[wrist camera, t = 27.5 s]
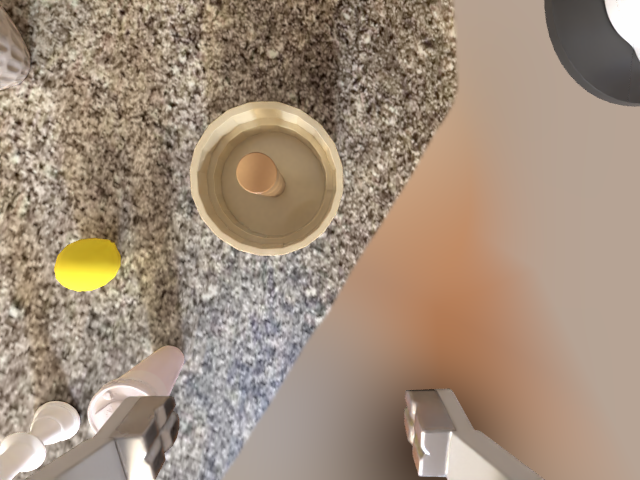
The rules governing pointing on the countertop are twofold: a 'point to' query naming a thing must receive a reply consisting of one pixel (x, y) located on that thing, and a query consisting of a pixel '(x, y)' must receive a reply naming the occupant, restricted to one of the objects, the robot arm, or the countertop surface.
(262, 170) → the stick
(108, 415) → the smoothie
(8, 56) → the vase
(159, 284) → the countertop surface
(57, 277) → the lemon
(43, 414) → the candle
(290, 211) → the bowl
